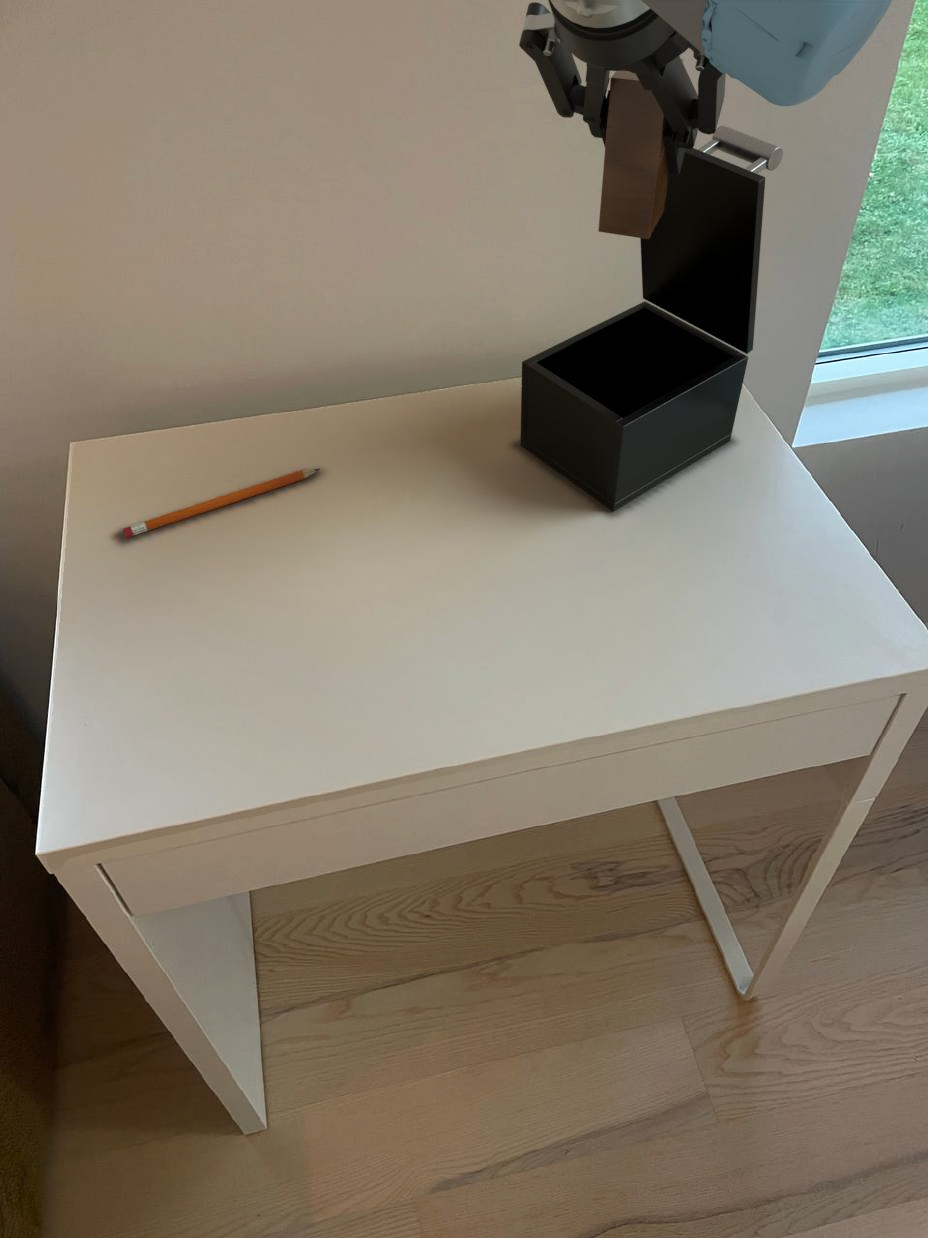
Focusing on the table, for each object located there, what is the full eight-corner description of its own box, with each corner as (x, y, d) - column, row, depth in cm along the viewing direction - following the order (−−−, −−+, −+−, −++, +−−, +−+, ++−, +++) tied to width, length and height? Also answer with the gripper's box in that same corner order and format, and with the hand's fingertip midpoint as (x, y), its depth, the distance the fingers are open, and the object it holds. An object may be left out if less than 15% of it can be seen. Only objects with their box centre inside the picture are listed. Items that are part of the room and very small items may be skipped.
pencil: (124, 534, 87) (121, 526, 86) (320, 469, 92) (318, 462, 92) (126, 539, 86) (124, 532, 86) (323, 474, 92) (322, 467, 91)
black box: (613, 512, 87) (623, 426, 80) (519, 445, 94) (521, 361, 87) (730, 441, 94) (749, 356, 87) (634, 383, 100) (645, 300, 94)
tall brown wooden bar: (664, 210, 77) (683, 58, 69) (648, 239, 74) (667, 83, 66) (615, 203, 78) (628, 52, 70) (598, 231, 75) (610, 77, 67)
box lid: (758, 182, 73) (821, 136, 75) (635, 131, 80) (695, 90, 81) (746, 354, 86) (800, 312, 88) (642, 298, 93) (694, 260, 95)
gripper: (450, 20, 56) (532, 186, 78) (751, 50, 51) (746, 217, 74) (481, -115, 55) (555, 92, 77) (788, -97, 51) (772, 117, 73)
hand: (648, 153), depth 76 cm, fingers closed on tall brown wooden bar, 4 cm apart
